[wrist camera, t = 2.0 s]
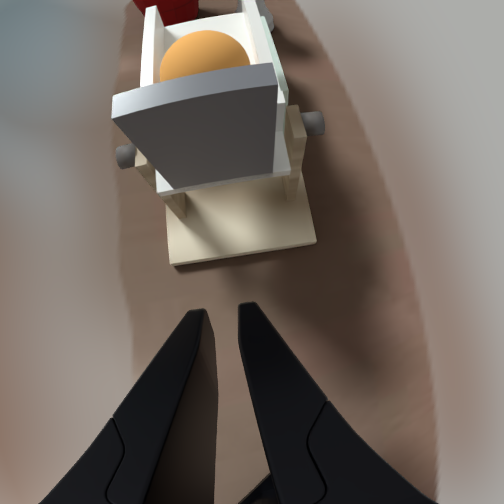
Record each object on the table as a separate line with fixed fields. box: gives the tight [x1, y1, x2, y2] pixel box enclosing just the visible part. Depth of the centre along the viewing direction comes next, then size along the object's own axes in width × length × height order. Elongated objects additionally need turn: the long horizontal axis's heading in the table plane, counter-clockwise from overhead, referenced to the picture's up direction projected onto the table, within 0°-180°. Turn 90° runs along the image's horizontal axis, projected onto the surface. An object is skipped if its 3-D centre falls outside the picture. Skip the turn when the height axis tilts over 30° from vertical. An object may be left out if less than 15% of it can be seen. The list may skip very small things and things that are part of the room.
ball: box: [160, 30, 250, 82], centre depth 12 cm, size 4×4×4 cm
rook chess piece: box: [235, 0, 274, 32], centre depth 23 cm, size 4×4×8 cm
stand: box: [116, 105, 325, 266], centre depth 18 cm, size 8×10×9 cm
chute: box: [112, 0, 291, 196], centre depth 11 cm, size 11×6×7 cm, turn 9°
